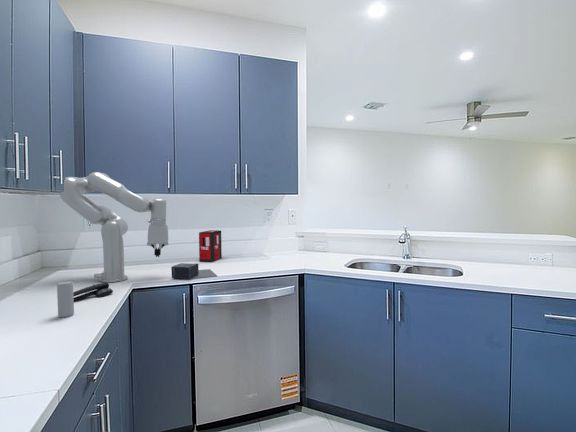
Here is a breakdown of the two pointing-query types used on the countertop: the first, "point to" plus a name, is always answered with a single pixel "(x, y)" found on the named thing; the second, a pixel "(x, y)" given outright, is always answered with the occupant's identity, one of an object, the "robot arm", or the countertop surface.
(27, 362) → the countertop surface
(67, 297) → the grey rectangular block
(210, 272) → the mat
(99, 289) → the can opener
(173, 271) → the small box
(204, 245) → the cleaning product box
